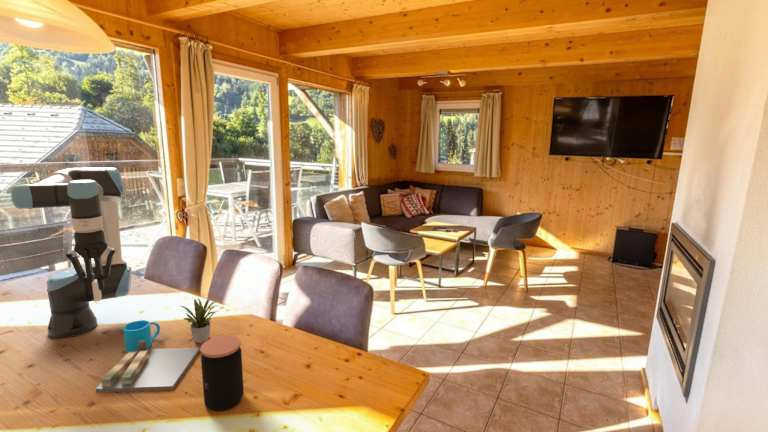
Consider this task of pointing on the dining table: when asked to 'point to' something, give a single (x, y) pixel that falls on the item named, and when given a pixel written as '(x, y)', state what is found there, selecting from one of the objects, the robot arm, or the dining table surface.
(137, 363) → the bar
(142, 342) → the tongs base
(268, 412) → the dining table surface
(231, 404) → the coffee jar
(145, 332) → the mug
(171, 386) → the board
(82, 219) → the robot arm
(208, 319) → the house plant
